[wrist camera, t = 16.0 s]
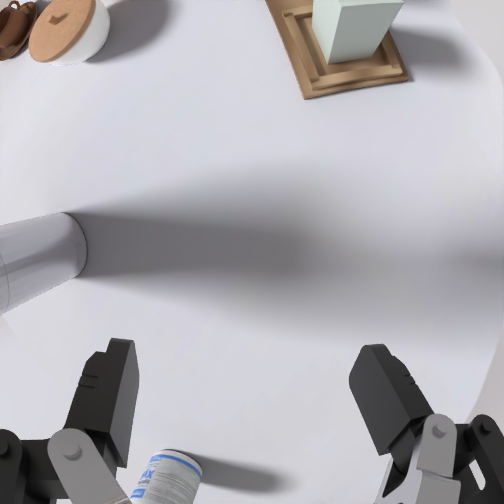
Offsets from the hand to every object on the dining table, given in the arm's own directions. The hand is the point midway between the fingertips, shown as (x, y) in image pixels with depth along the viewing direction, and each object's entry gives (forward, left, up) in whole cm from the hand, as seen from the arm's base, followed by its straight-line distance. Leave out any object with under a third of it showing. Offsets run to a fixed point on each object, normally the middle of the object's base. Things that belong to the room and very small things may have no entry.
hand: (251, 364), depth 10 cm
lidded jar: (-31, +21, -23) cm, 44 cm away
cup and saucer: (-52, +25, -24) cm, 63 cm away
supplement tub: (-6, -43, -23) cm, 50 cm away
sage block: (+1, +23, -22) cm, 32 cm away
